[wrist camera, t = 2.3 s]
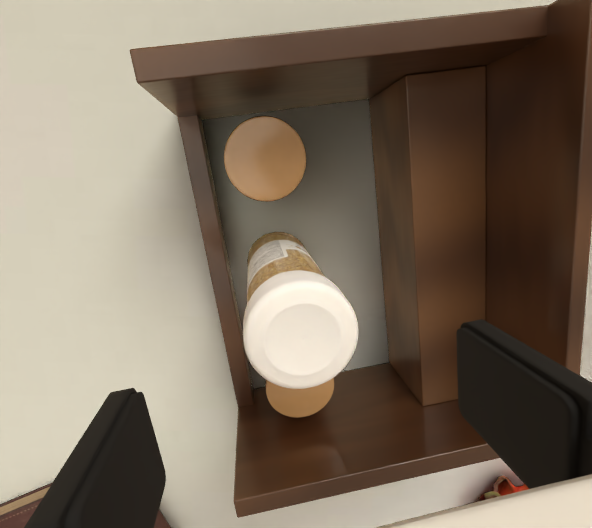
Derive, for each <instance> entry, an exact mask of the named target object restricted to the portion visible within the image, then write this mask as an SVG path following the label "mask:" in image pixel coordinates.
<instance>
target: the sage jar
mask: <svg viewBox="0 0 592 528" xmlns="http://www.w3.org/2000/svg"><path fill="white" fill-rule="evenodd" d="M224 165H225V169H226V172H227V175H228V177H229V179H230V181H231V182H232V184H233V185H234V186H235V188H236V189H237V190H238V191H240V192H241V193H242V194H244V195H245V196H247V197H249V198H251V199H254V200H257V201H266V202H267V201H275V200H278V199H281V198H283V197H285V196H287V195H288V194H290V193H291V192H292V191H293V190H294V189H295V188H296V187H297V186H298V185H299V183H300V182H301V180H302V178H303V175H304V172H305V168H306V152H305V147H304V144H303V142H302V140H301V138H300V136H299V135H298V133H297V132H296V131H295V130H294V129H293V128H292V127H291V126H290V125H289V124H288V123H286V122H284V121H283V120H281V119H278V118H275V117H271V116H257V117H253V118H250V119H248V120H246V121H244V122H242V123H241V124H239V125H238V126H237V127H236V128H235V129H234V130H233V132H232V133H231V135H230V136H229V138H228V140H227V143H226V146H225V151H224Z"/></svg>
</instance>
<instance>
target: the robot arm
mask: <svg viewBox="0 0 592 528" xmlns="http://www.w3.org/2000/svg"><path fill="white" fill-rule="evenodd" d="M456 340H457V377H458V406H459V410H460V412H461V414H462V416H463V417H464V419H465V420H466V421H467V422H468V423H469V424H470V425H471V426H472V427H473V428H474V430H475V431H476V432H477V433H478V434H479V435H480V436H481V437H482V438H483V439H484V440H485V441H486V443H487V444H488V445H489V446H490V447H491V448H492V449H493V450H494V451H495V452H496V453H497V454H498V456H499V457H500V458H501V459H502V460H503V461H504V462H505V463H506V464H507V465H508V466H509V467H510V469H511V470H512V471H513V472H514V473H515V474H516V475H517V476H518V477H519V478H520V479H521V480H522V482H523V483H524V484H525V485H526V486H527V487H528V488H529V489H528V490H524V491H520V492H516V493H512V494H507V495H503V496H499V497H495V498H491V499H487V500H483V501H479V502H475V503H471V504H467V505H463V506H459V507H455V508H451V509H447V510H443V511H439V512H435V513H431V514H427V515H423V516H419V517H415V518H411V519H407V520H403V521H399V522H395V523H392V524H388V525H384V526H380V527H376V528H592V383H591V382H590V381H588V380H586V379H585V378H583V377H581V376H579V375H578V374H576V373H574V372H572V371H571V370H569V369H567V368H566V367H564V366H562V365H560V364H559V363H557V362H555V361H554V360H552V359H550V358H548V357H547V356H545V355H543V354H542V353H540V352H538V351H536V350H535V349H533V348H531V347H530V346H528V345H526V344H524V343H523V342H521V341H519V340H518V339H516V338H514V337H512V336H511V335H509V334H507V333H505V332H504V331H502V330H500V329H499V328H497V327H495V326H493V325H492V324H490V323H488V322H487V321H485V320H482V319H481V320H475V321H470V322H465V323H463V324H462V325H461V327H460V329H458V330H457V333H456ZM165 481H166V475H165V469H164V465H163V462H162V458H161V455H160V451H159V447H158V444H157V440H156V437H155V433H154V430H153V426H152V423H151V419H150V416H149V412H148V408H147V405H146V401H145V398H144V395H143V393H142V392H138V393H137V392H136V390H135V389H134V388H131V389H126V390H121V391H115V392H111V393H110V394H109V395H108V397H107V399H106V400H105V402H104V403H103V405H102V406H101V408H100V409H99V411H98V413H97V414H96V416H95V417H94V419H93V420H92V422H91V424H90V425H89V427H88V428H87V430H86V431H85V433H84V435H83V436H82V438H81V439H80V441H79V442H78V444H77V445H76V447H75V449H74V450H73V452H72V453H71V455H70V456H69V458H68V460H67V461H66V463H65V464H64V466H63V467H62V469H61V471H60V472H59V474H58V475H57V477H56V478H55V480H54V481H53V483H52V485H51V486H50V488H49V489H48V491H47V492H46V494H45V496H44V497H43V499H42V500H41V502H40V503H39V505H38V507H37V508H36V510H35V511H34V513H33V514H32V516H31V517H30V519H29V521H28V522H27V524H26V525H25V527H24V528H154V525H155V521H156V518H157V514H158V510H159V506H160V502H161V499H162V495H163V491H164V487H165Z"/></svg>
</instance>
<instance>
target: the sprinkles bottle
mask: <svg viewBox="0 0 592 528" xmlns="http://www.w3.org/2000/svg"><path fill="white" fill-rule="evenodd" d="M247 262H248V276H247V306H246V309H245V314H244V320H243V342H244V348H245V352H246V355H247V357H248V360H249V361H250V363H251V365H252V366H253V368H254V369H255V370H256V371H257V372H258V373H259V374H260V375H261V376H262V377H263V378H265V379H266V380H268V381H269V382H271V383H273V384H276V385H278V386H281V387H285V388H292V389H305V388H310V387H315V386H318V385H321V384H323V383H325V382H327V381H329V380H331V379H332V378H334V377H335V376H336V375H337V374H339V373H340V372H341V371H342V370H343V369H344V368H345V366H346V365H347V364H348V363H349V361H350V359H351V358H352V356H353V354H354V351H355V349H356V345H357V340H358V323H357V317H356V315H355V312H354V310H353V308H352V306H351V304H350V303H349V301H348V300H347V298H346V297H345V296H344V294H343V293H342V292H341V291H340V289H339V288H338V287H337V286H336V285H335V284H334V283H333V282H332V281H330V280H329V279H327V278H326V277H325V276H324V275H323V273H322V271H321V270H320V268H319V267H318V265H317V264H316V263H315V261H314V260H313V259H312V257H311V256H310V254H309V253H308V252H307V251H306V249H305V247H304V246H303V244H302V243H301V242H300V241H299V240H298V239H297V238H295V237H294V236H292V235H291V234H288V233H284V232H273V233H269V234H265V235H263V236H262V237H261V238H259V239H258V240H257V241H256V242H255V243H254V244H253V245H252V247H251V249H250V251H249V254H248V260H247Z"/></svg>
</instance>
